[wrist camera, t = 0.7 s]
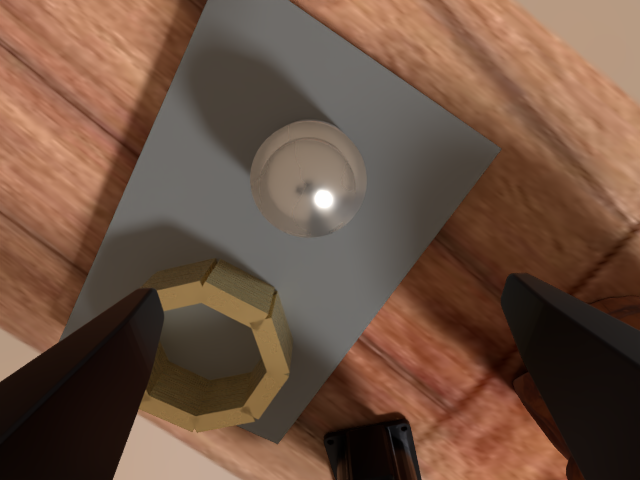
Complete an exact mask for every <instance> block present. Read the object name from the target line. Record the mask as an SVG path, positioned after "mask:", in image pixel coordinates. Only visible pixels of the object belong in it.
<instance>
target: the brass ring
mask: <svg viewBox="0 0 640 480" xmlns="http://www.w3.org/2000/svg"><path fill="white" fill-rule="evenodd" d="M141 288H154V289H156V290H157V292H158V295H159V298H160V301H161V304H162V307H163V310H164V311H167V310H171V309H176V308H180V307H185V306H190V305H194V304H199V303H203V304H205V305H207V306H209V307H211V308H212V309H214V310H216V311H218V312H220V313H222V314H224V315H226V316H228V317H230V318H232V319H234V320H236V321H238V322H240V323H242V324H244V325H246V326H248V327H250V328H252V331H253V334H254V337H255V340H256V342H257V345H258V348H259V351H260V354H261V356H262V358H261V359H260V361H259V362H258V364H257V365H256V367H255V368H254V370H253V371H252V372H249V373H244V374H239V375H234V376H229V377H224V378H219V379H214V380H208V379H206V378H204V377H202V376H199V375H197V374H195V373H193V372H191V371H189V370H187V369H184V368H182V367H180V366H178V365H176V364H174V363H172V362H169V360H168V358H167V356H166V353H165V351H164V349H163V347H162V345H161V343H160V340H159V344H158V348H157V353H156V357H155V361H154V365H153V369H152V372H151V376H150V379H149V382H148V385H147V388H146V390H145V393H144V396H143V398H142V401H141V404H140V407H139V409H140V410H142V411H145V412H147V413H149V414H152V415H154V416H156V417H159V418H161V419H163V420H166V421H168V422H170V423H172V424H175V425H177V426H179V427H182V428H184V429H186V430H189V431H191V432H193V430H194V429H195V430H196V432H197V433H198V432H203V431H208V430H213V429H219V428H224V427H229V426H234V425H240V424H245V423H250V422H255V419H259V418H260V417H261V415H262V414H263V412H264V411H265V410H266V408H267V407H268V405H269V404H270V403H271V401H272V400H273V398H274V397H275V396H276V394H277V393H278V391H279V390H280V389H281V387H282V386H283V384H284V383H285V382H286V380H287V379H288V377H289V373H290V365H291V356H292V347H293V338H292V335H291V332H290V328H289V325H288V322H287V319H286V316H285V313H284V309H283V306H282V303H281V300H280V297H279V294H278V291H275V292H274V289H275V287H273V286H271V285H269V284H267V283H265V282H263V281H262V280H260V279H258V278H256V277H254V276H252V275H250V274H248V273H246V272H245V271H243V270H241V269H239V268H237V267H235V266H233V265H231V264H230V263H228V262H226V261H224V260H222V259H220V260H219V262H218V263H217V260H216V258H213V259H209V260H205V261H200V262H196V263H192V264H187V265H183V266H178V267H174V268H170V269H165V270H161V271H157V272H156V273H155V274H153V275H152V276H151V277H150V278H149V279H148V281H147V282H146V283H145V284H144V285H143V286H142V287H141Z"/></svg>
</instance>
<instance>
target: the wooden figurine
mask: <svg viewBox="0 0 640 480" xmlns="http://www.w3.org/2000/svg"><path fill="white" fill-rule="evenodd" d="M589 305H591V306H593V307H595V308H597V309H599V310H601V311H602V312H604V313H606V314H608V315H610V316H612V317H614V318H616V319H618V320H620V321H622V322H624V323H626V324H628V325H630V326H632V327H634V328H636V329H638V330H640V297H636V296H625V297H611V298H606V299H603V300H600V301H597V302H594V303H592V304H589ZM513 386H514V389H515V392H516V393H517V395H518V397H519V398H520V400H521V401H522V403H523V405H524V406H525V408H526V409H527V411H528V412H529V413H530V415H531V416H532V417H533V419H534V420H535V421H536V423H537V424H538V425H539V427H540V428H541V429H542V431H543V432H544V433H545V435H546V436H547V437H548V439H549V440H550V441H551V443H552V444H553V445H554V447H555V448H556V449H557V450H558V451H559V452H560V453H561V454H562V455H563V456H564V457H565V458H566V459H567V460H568V464H567V467H566V476H567V479H568V480H585V479H584V477H583V475H582V473H581V471H580V469H579V468H578V466H577V464H576V462H575V460H574V458H573V456H572V454H571V452H570V450H569V448H568V446H567V445H566V443H565V441H564V439H563V437H562V435H561V433H560V431H559V429H558V427H557V425H556V423H555V422H554V420H553V418H552V416H551V414H550V412H549V410H548V408H547V406H546V404H545V402H544V400H543V399H542V397H541V395H540V393H539V391H538V389H537V387H536V385H535V383H534V381H533V379H532V377H531V376H530V374H529V372H527V373H525V374H522V375H521V376H520V377H518V378H516V379H514V381H513Z"/></svg>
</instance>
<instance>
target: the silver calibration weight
mask: <svg viewBox="0 0 640 480" xmlns="http://www.w3.org/2000/svg"><path fill="white" fill-rule="evenodd" d="M250 185H251V191H252V195H253V198H254V201H255V204H256V205H257V207H258V209H259V211H260V212H261V214H262V215H263V216H264V217H265V218H266V219H267V221H268V222H270V223H271V224H272V225H273V226H274V227H276V228H278V229H279V230H281V231H283V232H285V233H287V234H290V235H293V236H297V237H304V238H315V237H321V236H325V235H328V234H331V233H333V232H335V231H337V230H339V229H341V228H342V227H343V226H345V225H346V224H347V223H348V222H349V221H350V220H351V219H352V218H353V217H354V216H355V214H356V213H357V212H358V210H359V208H360V206H361V204H362V202H363V199H364V196H365V192H366V186H367V175H366V168H365V165H364V161H363V159H362V156H361V154H360V152H359V151H358V149H357V147H356V146H355V145H354V144H353V142H352V141H351V140H350V139H349V138H348V137H347V136H346V135H345V134H344V133H343V132H342V131H341V130H340V129H339V128H337V127H336V126H334V125H332V124H331V123H328V122H326V121H322V120H318V119H303V120H298V121H295V122H292V123H290V124H288V125H286V126H284V127H282V128H281V129H279V130H277V131H276V132H274V133H273V134H272V135H270V136H269V137H268V138H267V139H266V140H265V141H264V142H263V144H262V145H261V146H260V148H259V149H258V151H257V153H256V155H255V157H254V160H253V163H252V167H251V173H250Z"/></svg>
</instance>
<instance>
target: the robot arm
mask: <svg viewBox="0 0 640 480" xmlns="http://www.w3.org/2000/svg"><path fill="white" fill-rule="evenodd" d="M501 307H502V309H503V312H504V315H505V317H506V320H507V322H508V325H509V327H510V330H511V333H512V335H513V338H514V340H515V343H516V345H517V348H518V351H519V353H520V355H521V358H522V360H523V362H524V364H525V366H526V368H527V370H528V372H529V374H530V376H531V377H532V379H533V381H534V383H535V385H536V387H537V389H538V391H539V393H540V395H541V397H542V399H543V400H544V402H545V404H546V406H547V408H548V410H549V412H550V414H551V416H552V418H553V420H554V422H555V423H556V425H557V427H558V429H559V431H560V433H561V435H562V437H563V439H564V441H565V443H566V445H567V446H568V448H569V450H570V452H571V454H572V456H573V458H574V460H575V462H576V464H577V466H578V468H579V469H580V471H581V473H582V475H583V477H584V479H585V480H640V330H638V329H636V328H634V327H632V326H630V325H628V324H626V323H624V322H622V321H620V320H618V319H616V318H614V317H612V316H610V315H608V314H606V313H604V312H602V311H601V310H599V309H597V308H595V307H593V306H591V305H589V304H587V303H585V302H583V301H581V300H579V299H577V298H575V297H573V296H571V295H569V294H567V293H565V292H563V291H561V290H559V289H557V288H555V287H553V286H552V285H550V284H548V283H546V282H544V281H542V280H540V279H538V278H536V277H534V276H532V275H530V274H528V273H512V274H510V275H509V276H508V277H507V280H506V283H505V286H504V290H503V293H502V296H501ZM163 324H164V310H163V307H162V304H161V301H160V298H159V295H158V292H157V290H156V289H154V288H139V289H136V290H135V291H133V292H132V293H130V294H129V295H127V296H126V297H124V298H123V299H121V300H120V301H118V302H117V303H116V304H114V305H113V306H111V307H110V308H108V309H107V310H105V311H104V312H102V313H101V314H99V315H98V316H96V317H95V318H94V319H92V320H91V321H89V322H88V323H86V324H85V325H83V326H82V327H80V328H79V329H77V330H76V331H74V332H73V333H71V334H70V335H69V336H67V337H66V338H64V339H63V340H61V341H60V342H58V343H57V344H55V345H54V346H52V347H51V348H49V349H48V350H47V351H45V352H44V353H42V354H41V355H39V356H38V357H36V358H35V359H33V360H32V361H30V362H29V363H27V364H26V365H25V366H23V367H22V368H20V369H19V370H17V371H16V372H14V373H13V374H11V375H10V376H8V377H7V378H5V379H4V380H3V381H1V382H0V480H113V477H114V475H115V472H116V469H117V466H118V464H119V461H120V458H121V456H122V453H123V450H124V447H125V445H126V442H127V439H128V437H129V434H130V431H131V428H132V426H133V423H134V420H135V417H136V415H137V412H138V409H139V407H140V404H141V401H142V398H143V396H144V393H145V390H146V388H147V385H148V382H149V379H150V376H151V372H152V369H153V365H154V361H155V357H156V353H157V348H158V344H159V340H160V336H161V332H162V328H163ZM403 426H405V427H403ZM324 445H325V448H326V451H327V454H328V458H329V461H330V464H331V467H332V470H333V473H334V477H335V480H421V475H420V470H419V465H418V460H417V455H416V451H415V446H414V441H413V436H412V431H411V427H410V423H409V421H408V420H405V419H401V420H395V421H390V422H384V423H379V424H374V425H368V426H363V427H357V428H352V429H347V430H341V431H336V432H330V433H327V434H325V436H324Z"/></svg>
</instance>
